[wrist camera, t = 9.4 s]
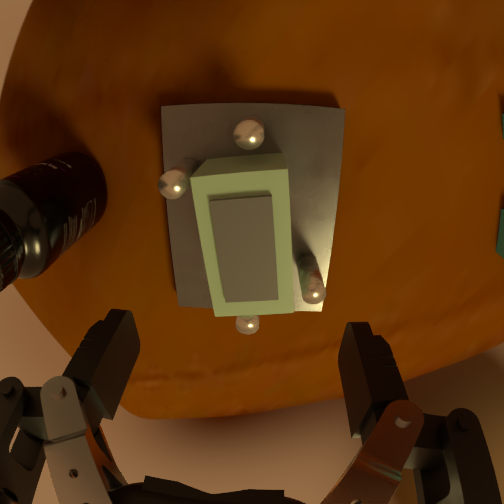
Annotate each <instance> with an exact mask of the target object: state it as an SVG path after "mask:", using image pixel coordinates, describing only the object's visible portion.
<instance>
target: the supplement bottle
mask: <svg viewBox="0 0 504 504" xmlns="http://www.w3.org/2000/svg"><path fill="white" fill-rule="evenodd" d="M106 205H107V186H106V182H105V179H104V176H103V174H102V172H101V170H100V169H99V167H98V166H97V165H96V164H95V163H94V162H93V161H92V160H91V159H90V158H89V157H87V156H85V155H83V154H81V153H77V152H66V153H62V154H59V155H57V156H54V157H51V158H49V159H46V160H44V161H41V162H39V163H37V164H34V165H32V166H30V167H27V168H25V169H23V170H20V171H18V172H16V173H14V174H12V175H10V176H7V177H5V178H3V179H1V180H0V292H1V291H2V290H3V289H5V288H6V287H7V286H8V285H9V284H12V283H13V282H14V281H15V280H16V279H17V278H22V279H29V278H34V277H37V276H39V275H41V274H42V273H43V272H44V271H46V270H47V269H48V268H49V267H50V266H51V265H52V264H53V263H54V262H55V261H56V260H57V259H58V258H59V257H60V256H61V255H62V254H64V253H65V252H66V251H67V250H68V249H69V248H70V247H71V246H72V245H73V244H74V243H76V242H77V241H78V240H79V239H80V238H81V237H82V236H83V235H85V234H86V233H87V232H88V231H89V230H90V229H91V228H92V227H93V226H95V225H96V224H97V223H98V222H99V220H100V219H101V218H102V216H103V214H104V212H105V209H106Z"/></svg>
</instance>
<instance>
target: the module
mask: <svg viewBox="0 0 504 504" xmlns="http://www.w3.org/2000/svg"><path fill="white" fill-rule="evenodd" d="M190 181H191V187H192V193H193V200H194V206H195V212H196V218H197V224H198V229H199V235H200V241H201V246H202V252H203V257H204V263H205V268H206V273H207V278H208V284H209V289H210V294H211V299H212V304H213V309H214V314H215V316H243V315H264V314H282V313H294V306H293V268H292V240H291V217H290V197H289V180H288V168H287V165H286V162H285V159H284V156H283V153H271V154H257V155H245V156H234V157H224V158H215V159H207V160H206V161H205V162H204V163H203V164H202V165H201V166H200V167H199V168H198V169H197V171H196V172H195V173H194V174H193V175H192V176H191V177H190Z"/></svg>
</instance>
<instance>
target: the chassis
mask: <svg viewBox="0 0 504 504" xmlns="http://www.w3.org/2000/svg"><path fill="white" fill-rule="evenodd" d="M161 117H162V142H163V161H164V174H163V175H162V176H161V178H160V179H159V182H158V188H159V191H160V193H161V194H162V195H163V196H164V197H166V202H167V213H168V224H169V233H170V243H171V251H172V260H173V268H174V276H175V283H176V290H177V297H178V304H179V306H185V307H201V308H213V304H212V299H211V294H210V289H209V284H208V278H207V273H206V268H205V263H204V257H203V252H202V246H201V241H200V235H199V229H198V224H197V218H196V212H195V206H194V200H193V193H192V187H191V181H190V177H191V176H192V175H193V174H194V173H195V172H196V171H197V169H198V168H199V167H200V166H201V165H202V164H203V163H204V162H205V161H206V160H207V159H215V158H224V157H234V156H245V155H257V154H271V153H283V156H284V159H285V162H286V165H287V168H288V180H289V197H290V217H291V240H292V268H293V306H294V311H322V305H323V300H324V299H325V297H326V290H325V287H326V281H327V275H328V268H329V262H330V255H331V248H332V241H333V233H334V225H335V217H336V209H337V200H338V191H339V181H340V171H341V160H342V148H343V134H344V119H345V109H341V108H332V107H321V106H309V105H294V104H273V103H207V104H186V105H172V106H161ZM236 328H237V330H238V331H239V332H241V333H243V334H253V333H255V332H256V331H257V330H258V328H259V315H243V316H237V318H236Z"/></svg>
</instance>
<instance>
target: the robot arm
mask: <svg viewBox="0 0 504 504" xmlns="http://www.w3.org/2000/svg"><path fill="white" fill-rule="evenodd" d="M79 346H80V347H78V349H77V350H76V352H75V354H74V355H73V357H72V359H71V361H70V362H69V364H68V366H67V368H66V369H65V371H64V373H63V375H62V376H57V377H53V378H51V379H49V380H48V381H47V382H46V383H45V384H44V385H43V387H24V385H23V384H22V382H21V381H20V380H19V379H18V378H16V377H7V378H5V379H3V380H1V381H0V504H32V501H33V497H34V494H35V491H36V488H37V484H38V481H39V478H40V475H41V472H42V469H43V466H44V463H45V460H47V463H48V467H49V471H50V474H51V478H52V481H53V484H54V488H55V491H56V494H57V497H58V500H59V503H60V504H305V503H303V502H301V501H298V500H295V499H292V498H288V497H284V490H255V489H248V490H242V491H235V492H228V493H220V494H209V493H206V492H203V491H200V490H198V489H195V488H192V487H190V486H187V485H184V484H182V483H180V482H177V481H171V480H165V479H160V478H155V477H150V476H145V479H144V482H140V483H132V484H128V483H127V482H126V480H125V478H124V476H123V475H122V473H121V472H120V470H119V469H118V467H117V465H116V463H115V460H114V458H113V456H112V453H111V451H110V448H109V446H108V443H107V441H106V438H105V436H104V433H103V430H102V428H101V426H100V423H101V420H102V418H106V419H110V420H113V418H114V415H115V412H116V410H117V407H118V405H119V402H120V400H121V397H122V394H123V392H124V389H125V387H126V384H127V382H128V379H129V377H130V374H131V372H132V369H133V367H134V365H135V362H136V360H137V357H138V355H139V351H140V339H139V336H138V332H137V329H136V325H135V321H134V318H133V314H132V312H131V311H129V310H120V309H111V310H110V311H109V313H108V314H107V316H106V318H105V319H104V321H102V320H99V321H98V322H97V323H95V324H94V325H93V326H92V327H91V328H90V329H89V330H88V332H87V334H86V335H85V337H84V340H82V342H81V344H80V345H79ZM338 365H339V371H340V376H341V381H342V387H343V392H344V397H345V403H346V408H347V414H348V420H349V426H350V432H351V438H360V437H361V439H362V447H361V448H360V450H359V451H358V453H357V454H356V456H355V457H354V459H353V460H352V462H351V463H350V465H349V466H348V467H347V469H346V470H345V472H344V473H343V475H342V476H341V477H340V479H339V480H338V481H337V483H336V484H335V486H334V487H333V488H332V489H331V491H330V492H329V493H328V494H327V496H326V497H325V498H324V500H323V501H322V502H321V503H320V504H388V503H389V501H390V500H391V497H392V496H393V494H394V493H395V491H396V489H397V487H398V485H399V483H400V481H401V476H400V474H401V471H402V469H403V468H408V469H413V472H414V479H415V485H416V492H417V500H418V504H502V501H501V497H500V492H499V488H498V483H497V480H496V475H495V471H494V468H493V464H492V461H491V457H490V453H489V450H488V447H487V444H486V440H485V437H484V434H483V431H482V428H481V425H480V422H479V420H478V418H477V416H476V415H475V414H474V413H473V412H472V411H470V410H468V409H465V408H457V409H454V410H453V411H451V412H450V414H449V415H448V416H447V417H445V416H436V415H430V414H425V413H423V412H422V410H421V409H420V408H419V406H417V405H416V404H415V403H413V402H411V401H409V399H408V396H407V393H406V390H405V387H404V384H403V381H402V378H401V375H400V373H399V370H398V367H396V365H397V364H396V361H395V359H394V358H393V353H392V351H391V348H390V345H389V344H388V343H387V342H386V341H385V340H384V338H383V337H382V336H381V335H373V333H372V330H371V327H370V325H369V323H368V322H348V323H347V325H346V328H345V332H344V335H343V339H342V343H341V346H340V350H339V355H338ZM17 426H18V427H19V428H20V430H19V432H18V435H17V437H16V439H15V442H14V444H13V447H12V449H11V452H10V453H9V445H10V443H11V440H12V438H13V436H14V433H15V431H16V429H17Z"/></svg>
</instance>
